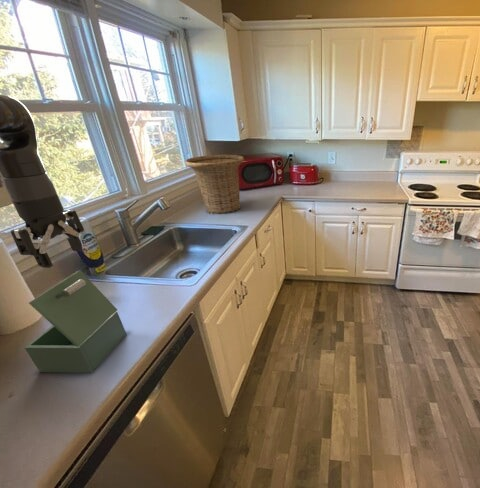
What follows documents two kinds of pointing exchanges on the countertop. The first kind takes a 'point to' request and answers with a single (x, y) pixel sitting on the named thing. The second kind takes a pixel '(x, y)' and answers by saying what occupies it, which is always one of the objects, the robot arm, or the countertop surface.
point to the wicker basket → (218, 181)
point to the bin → (75, 348)
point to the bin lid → (74, 307)
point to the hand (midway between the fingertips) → (63, 258)
